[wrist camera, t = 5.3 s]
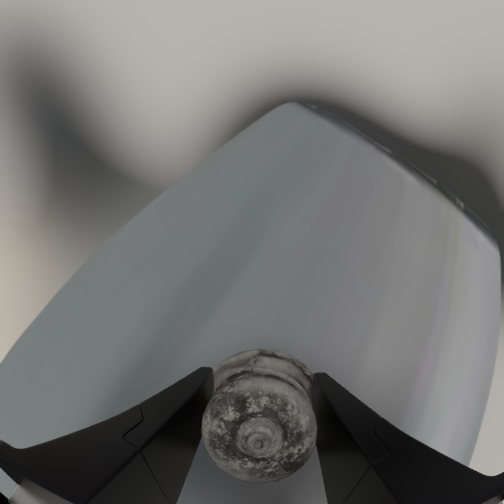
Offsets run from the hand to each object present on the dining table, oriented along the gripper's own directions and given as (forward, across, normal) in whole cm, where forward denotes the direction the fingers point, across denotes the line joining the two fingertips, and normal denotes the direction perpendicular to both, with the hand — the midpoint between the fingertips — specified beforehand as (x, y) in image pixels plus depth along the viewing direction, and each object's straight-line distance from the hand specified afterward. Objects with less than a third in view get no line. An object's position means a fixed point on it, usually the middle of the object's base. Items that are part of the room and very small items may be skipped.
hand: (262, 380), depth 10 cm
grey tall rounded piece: (+4, 0, -6) cm, 7 cm away
